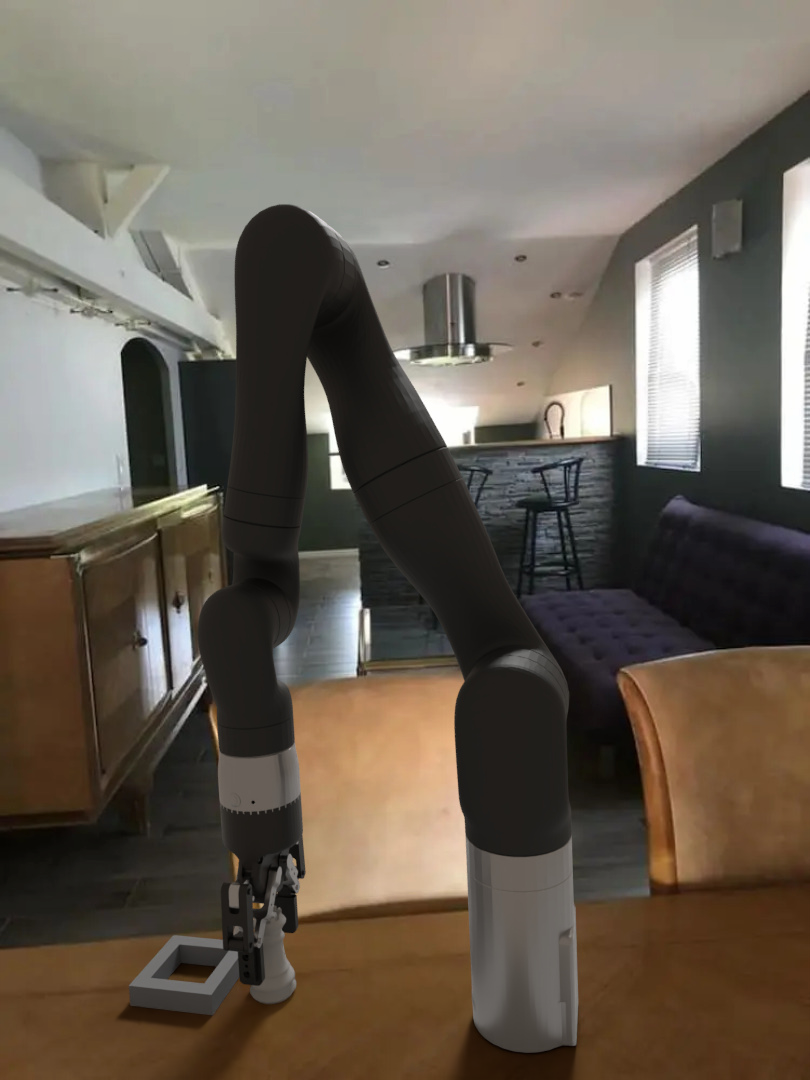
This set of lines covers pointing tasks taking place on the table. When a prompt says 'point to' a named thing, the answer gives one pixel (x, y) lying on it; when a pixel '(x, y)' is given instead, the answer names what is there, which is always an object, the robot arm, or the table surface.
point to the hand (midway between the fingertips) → (270, 955)
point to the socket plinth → (184, 995)
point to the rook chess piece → (274, 964)
